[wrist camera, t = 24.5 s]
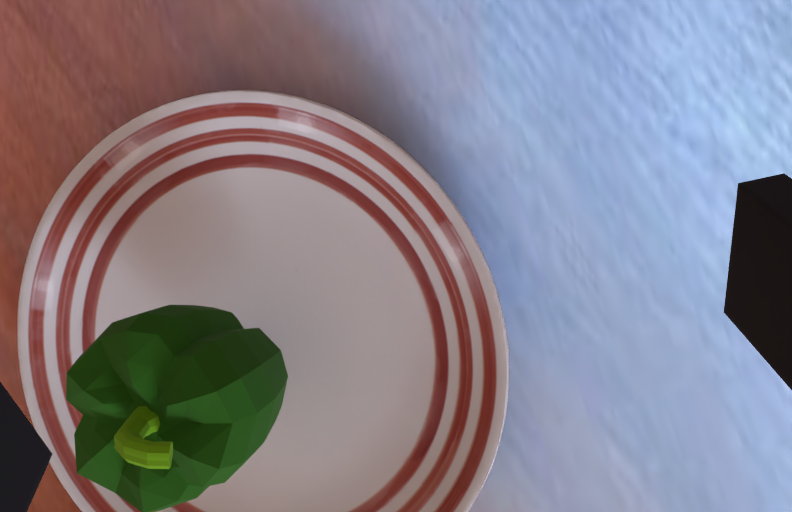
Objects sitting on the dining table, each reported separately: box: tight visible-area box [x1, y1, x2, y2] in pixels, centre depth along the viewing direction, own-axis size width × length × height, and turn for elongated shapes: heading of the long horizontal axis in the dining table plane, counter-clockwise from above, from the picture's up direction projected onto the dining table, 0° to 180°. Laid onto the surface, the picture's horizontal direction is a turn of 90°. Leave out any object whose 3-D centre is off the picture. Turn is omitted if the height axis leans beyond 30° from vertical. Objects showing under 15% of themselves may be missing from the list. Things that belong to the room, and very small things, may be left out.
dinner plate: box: [17, 90, 509, 512], centre depth 34 cm, size 27×27×3 cm
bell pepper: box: [66, 305, 288, 512], centre depth 28 cm, size 8×8×10 cm
